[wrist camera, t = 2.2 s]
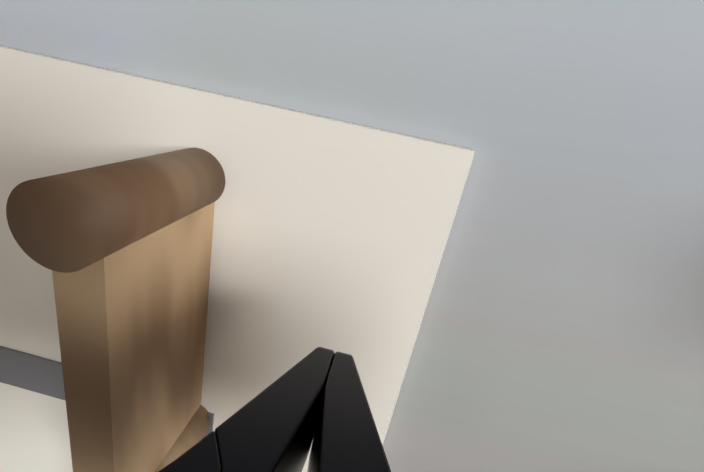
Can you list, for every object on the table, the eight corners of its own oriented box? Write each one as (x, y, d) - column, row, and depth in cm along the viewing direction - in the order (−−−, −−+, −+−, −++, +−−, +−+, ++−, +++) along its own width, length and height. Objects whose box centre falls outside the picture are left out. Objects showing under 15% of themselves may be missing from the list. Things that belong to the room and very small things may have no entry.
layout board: (327, 613, 20) (324, 628, 19) (-75, 490, 21) (-88, 501, 21) (472, 149, 11) (475, 152, 10) (-233, -6, 12) (-262, -10, 12)
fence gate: (208, 406, 15) (113, 549, 10) (165, 394, 15) (52, 530, 10) (227, 154, 11) (93, 192, 6) (171, 141, 11) (-1, 169, 7)
